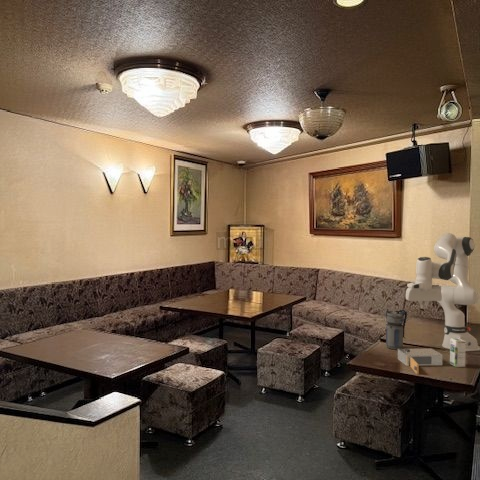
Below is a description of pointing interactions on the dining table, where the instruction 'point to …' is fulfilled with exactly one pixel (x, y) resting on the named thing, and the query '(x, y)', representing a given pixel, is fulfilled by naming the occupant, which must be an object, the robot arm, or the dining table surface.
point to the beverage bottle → (395, 329)
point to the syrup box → (457, 352)
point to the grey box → (420, 357)
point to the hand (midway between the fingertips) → (423, 308)
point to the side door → (414, 365)
